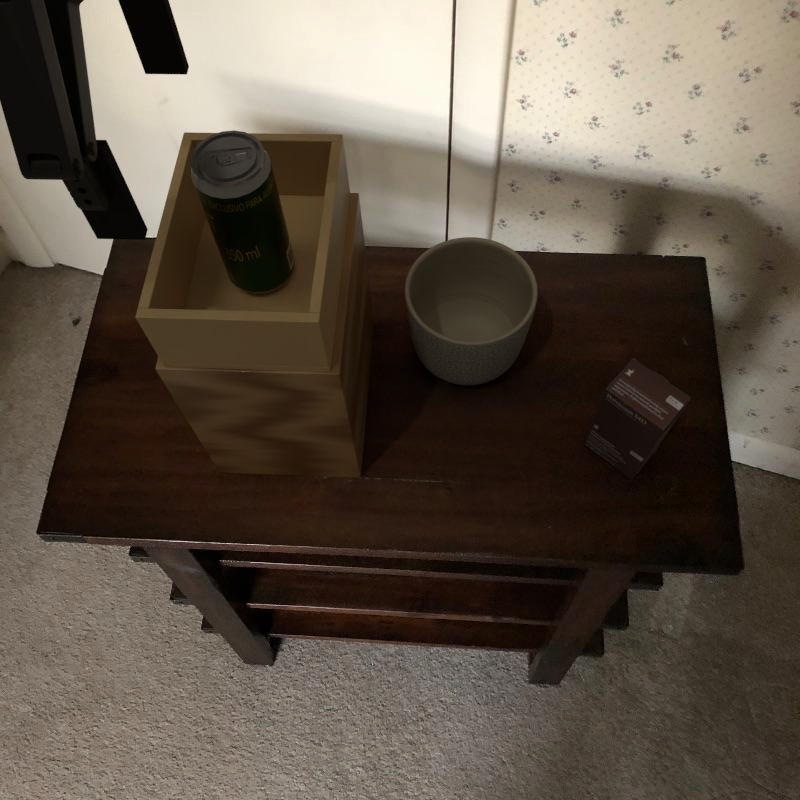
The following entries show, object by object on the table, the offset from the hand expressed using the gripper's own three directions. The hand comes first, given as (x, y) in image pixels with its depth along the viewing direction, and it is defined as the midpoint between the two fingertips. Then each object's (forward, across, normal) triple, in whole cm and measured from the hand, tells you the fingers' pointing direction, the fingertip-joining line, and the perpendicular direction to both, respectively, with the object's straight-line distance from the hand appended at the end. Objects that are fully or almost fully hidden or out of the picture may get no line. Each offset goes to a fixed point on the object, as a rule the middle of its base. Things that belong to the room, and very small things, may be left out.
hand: (146, 147), depth 46 cm
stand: (+36, +3, -4) cm, 36 cm away
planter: (+36, +8, -21) cm, 43 cm away
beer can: (+16, +3, -4) cm, 16 cm away
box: (+36, -3, -36) cm, 51 cm away
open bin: (+16, +3, -4) cm, 17 cm away
